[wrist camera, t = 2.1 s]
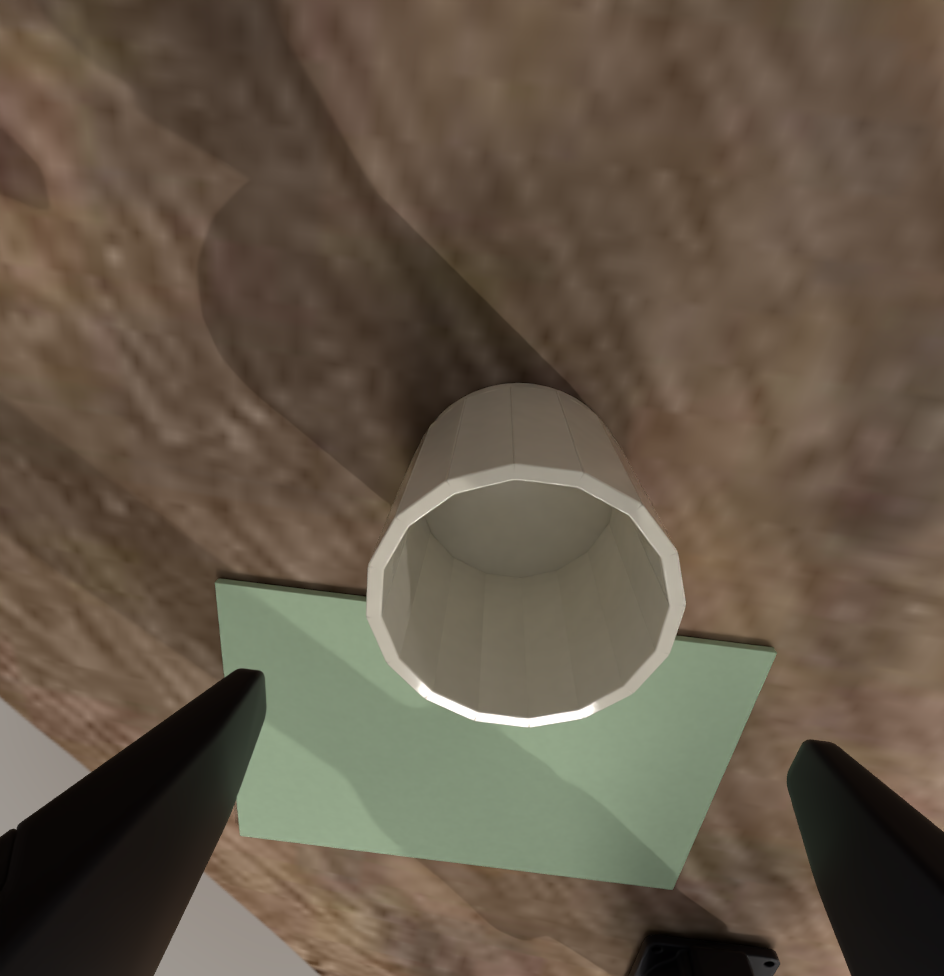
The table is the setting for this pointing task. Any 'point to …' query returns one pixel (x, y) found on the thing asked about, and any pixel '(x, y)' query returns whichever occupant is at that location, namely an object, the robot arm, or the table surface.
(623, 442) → the table surface
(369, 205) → the table surface
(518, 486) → the cup
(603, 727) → the felt mat
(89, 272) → the table surface
